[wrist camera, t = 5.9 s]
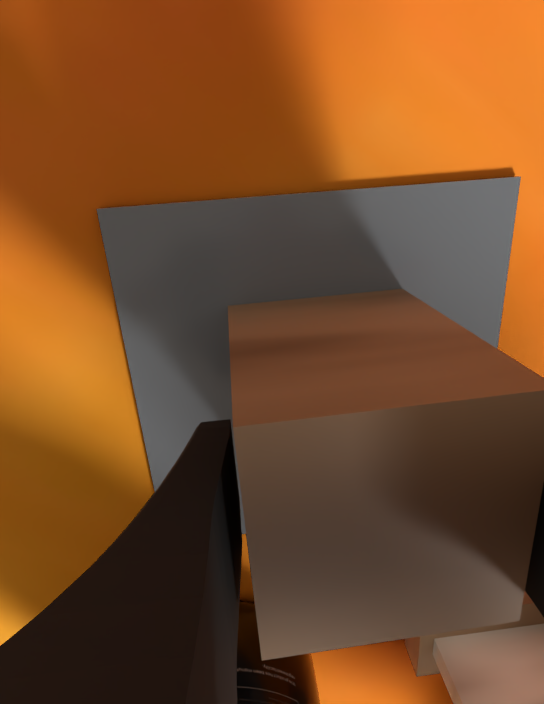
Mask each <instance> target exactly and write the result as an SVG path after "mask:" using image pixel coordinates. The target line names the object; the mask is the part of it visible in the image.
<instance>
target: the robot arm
mask: <svg viewBox="0 0 544 704" xmlns="http://www.w3.org/2000/svg"><path fill="white" fill-rule="evenodd" d="M241 557H242V530H241V513H240V497H239V489H238V480H237V472H236V463H235V455H234V446H233V438H232V429H231V421H230V419H227V420H217V421H208V422H201V423H200V424H199V425H198V426H197V427H196V429H195V431H194V433H193V435H192V436H191V438H190V440H189V442H188V443H187V445H186V447H185V448H184V450H183V452H182V453H181V455H180V456H179V458H178V460H177V461H176V463H175V464H174V466H173V467H172V468H171V470H170V471H169V473H168V474H167V476H166V477H165V479H164V480H163V482H162V483H161V485H160V486H159V487H158V489H157V490H156V491H155V493H154V494H153V495H152V496H151V498H150V499H149V500H148V502H147V503H146V504H145V505H144V507H143V508H142V509H141V511H140V512H139V513H138V514H137V516H136V517H135V518H134V519H133V521H132V522H131V523H130V524H129V525H128V527H127V528H126V529H125V530H124V531H123V532H122V534H121V535H120V536H119V537H118V538H117V539H116V540H115V541H114V542H113V544H112V545H111V546H110V547H109V548H108V549H107V550H106V551H105V552H104V553H103V554H102V555H101V556H100V557H99V559H98V560H97V561H96V562H95V563H94V564H93V565H92V566H91V567H90V568H89V569H88V570H87V571H85V572H84V573H83V574H82V575H81V576H80V577H79V578H78V579H77V580H76V581H75V582H74V583H72V584H71V585H70V586H69V587H68V588H67V589H66V590H65V591H64V592H63V593H62V594H61V595H59V596H58V597H57V598H56V599H55V600H54V601H53V602H52V603H51V604H50V605H49V606H48V607H46V608H45V609H44V610H43V611H42V612H41V613H40V614H38V615H37V616H36V617H35V618H34V619H33V620H31V621H30V622H29V623H28V624H27V625H25V626H24V627H23V628H22V629H21V630H19V631H18V632H17V633H16V634H15V635H13V636H12V637H11V638H10V639H9V640H7V641H6V642H5V643H4V644H2V645H1V646H0V704H237V640H238V620H239V599H240V579H241ZM525 591H526V593H527V594H528V596H529V597H530V598H531V600H532V601H533V603H534V604H535V606H536V607H537V608H538V610H539V611H540V613H541V614H542V616H543V618H544V483H543V488H542V494H541V500H540V506H539V511H538V517H537V523H536V529H535V535H534V540H533V546H532V552H531V558H530V563H529V569H528V575H527V581H526V586H525Z"/></svg>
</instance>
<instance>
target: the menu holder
mask: <svg viewBox="0 0 544 704" xmlns="http://www.w3.org/2000/svg"><path fill="white" fill-rule="evenodd" d="M405 646H406V649H407V652H408V654H409V657H410V660H411V663H412V665H413V668H414V671H415V673H416V676H417V677H418V676H425V675H432V674H439V673H441V676H442V678H443V680H444V683H445V685H446V687H447V690H448V692H449V695H450V697H451V699H452V702H453V704H544V618H543V616H542V614H541V613H540V611H539V610H538V608H537V607H536V606H535V604H534V603H533V601H532V600H531V598H530V597H529V596H528V594H527V593H526V591H525V592H524V598H523V604H522V609H521V615H520V621H517V622H511V623H504V624H498V625H491V626H485V627H478V628H472V629H465V630H459V631H452V632H446V633H439V634H432V635H426V636H419V637H413V638H406V639H405Z"/></svg>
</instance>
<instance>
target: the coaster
mask: <svg viewBox="0 0 544 704" xmlns="http://www.w3.org/2000/svg"><path fill="white" fill-rule="evenodd" d="M520 178H521V177H518V176H516V177H503V178H490V179H477V180H464V181H450V182H437V183H424V184H411V185H398V186H385V187H372V188H359V189H346V190H332V191H319V192H306V193H293V194H280V195H267V196H254V197H241V198H227V199H214V200H201V201H188V202H175V203H162V204H149V205H136V206H123V207H109V208H98V209H97V214H98V219H99V224H100V229H101V233H102V238H103V243H104V248H105V253H106V258H107V262H108V267H109V272H110V277H111V282H112V287H113V292H114V296H115V301H116V306H117V311H118V316H119V321H120V326H121V330H122V335H123V340H124V345H125V350H126V355H127V359H128V364H129V369H130V374H131V379H132V384H133V389H134V393H135V398H136V403H137V408H138V413H139V418H140V423H141V427H142V432H143V437H144V442H145V447H146V452H147V457H148V461H149V466H150V471H151V476H152V481H153V486H154V490H155V491H156V490H157V489H158V487H159V486H160V485H161V483H162V482H163V480H164V479H165V477H166V476H167V474H168V473H169V471H170V470H171V468H172V467H173V466H174V464H175V463H176V461H177V460H178V458H179V456H180V455H181V453H182V452H183V450H184V448H185V447H186V445H187V443H188V442H189V440H190V438H191V436H192V435H193V433H194V431H195V429H196V427H197V426H198V425H199V424H200V423H201V422H208V421H217V420H227V419H230V421H231V429H232V438H233V446H234V455H235V463H236V472H237V480H238V489H239V497H240V513H241V530H242V534H246V529H245V521H244V513H243V505H242V497H241V488H240V480H239V472H238V464H237V456H236V448H235V440H234V432H233V418H232V394H231V371H230V347H229V324H228V306H231V305H241V304H251V303H261V302H272V301H282V300H292V299H302V298H312V297H323V296H333V295H343V294H353V293H363V292H373V291H384V290H394V289H404V290H405V291H407V292H408V293H410V294H412V295H413V296H415V297H416V298H418V299H420V300H421V301H423V302H424V303H426V304H427V305H429V306H431V307H432V308H434V309H435V310H437V311H438V312H440V313H442V314H443V315H445V316H446V317H448V318H450V319H451V320H453V321H454V322H456V323H457V324H459V325H461V326H462V327H464V328H465V329H467V330H468V331H470V332H472V333H473V334H475V335H476V336H478V337H479V338H481V339H483V340H484V341H486V342H487V343H489V344H491V345H492V346H494V347H495V348H497V347H498V340H499V333H500V325H501V318H502V310H503V303H504V296H505V288H506V281H507V274H508V266H509V259H510V252H511V244H512V237H513V229H514V222H515V215H516V207H517V200H518V193H519V185H520Z"/></svg>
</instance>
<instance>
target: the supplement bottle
mask: <svg viewBox="0 0 544 704" xmlns="http://www.w3.org/2000/svg"><path fill="white" fill-rule="evenodd" d="M237 704H320V700H319V694H318V688H317V683H316V677H315V672H314V667H313V662H312V657H311V653H309V654H302V655H296V656H289V657H282V658H276V659H269V660H263V661H262V658H261V650H260V642H259V634H258V626H257V618H256V610H255V604H251V603H246V602H240V601H239V620H238V640H237Z"/></svg>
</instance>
